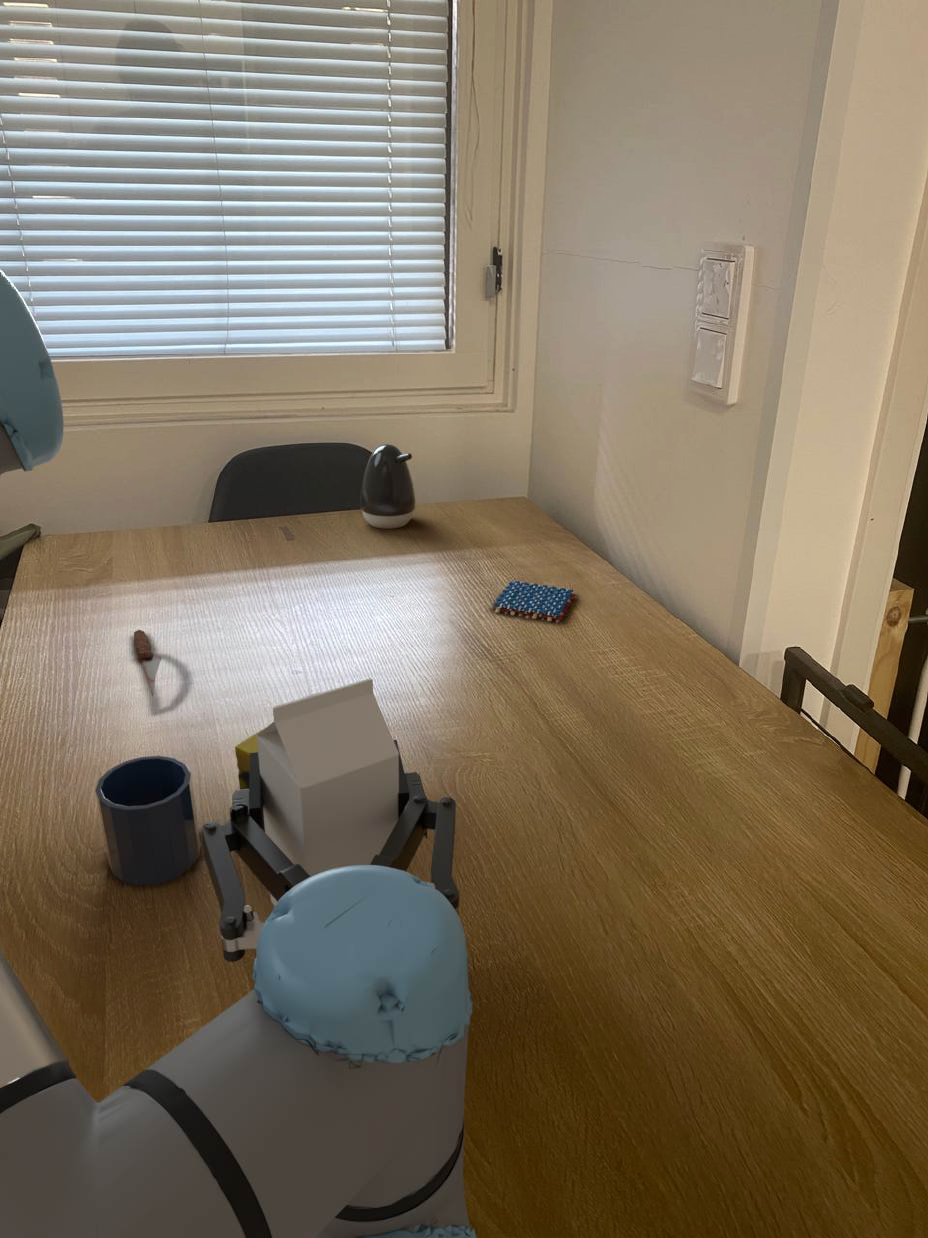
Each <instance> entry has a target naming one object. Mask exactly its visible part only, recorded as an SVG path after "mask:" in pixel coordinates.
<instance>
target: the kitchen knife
mask: <svg viewBox="0 0 928 1238" xmlns="http://www.w3.org/2000/svg"><path fill="white" fill-rule="evenodd" d="M133 636H134V639H133V643H134V644H133V645H134V650H135V655H136V656H137V661H138V662H139V663H140V664H142V666H143V670H144V675H145V677H146V680H147V684H148V686H149V687H148V688H149V690H150V693H151V696H152V697H153V696H154V691H155V686H156V677H157V672H158V670H159V667H160V664H161V662H162V656H159V655H156V654H154V653H153V652H152V646H151V643H150V641H149V637H148V636H147V634H146V632H145V631H143V630H141V629H137V630H135V631H134V633H133Z"/></svg>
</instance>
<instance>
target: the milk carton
mask: <svg viewBox="0 0 928 1238" xmlns="http://www.w3.org/2000/svg"><path fill="white" fill-rule="evenodd" d="M272 714H273V722H272V723H270V724H269V725H267V726H266V727H265V728H263V729H264V730H263V729H262V730H263V731H261V730H260V731H261V732H260V733H259V734H257V745H258V757H259V768H260V775H261V786H262V797H263V814H264V825H265V833H266V834H267V835H268V836H269V838H270V839H271V840H272V841H273V842H274V843H275V844H276V845H277V846H278V847H279V849H280V850H281V851H282V852H283V853H284V854H285V855H286V856H287V857H288V858H289V860H290V861H291V862H292V863H293V864H294V865H295V864H299V865H300V866H301V867H302V868H303V869H304V870H305V871H306V872H307V873H308V874H309V875H310V877H312V876H314V875H316V874H319V873H321V872H324V871H327V870H331V869H335V868H339V867H345V866H354V865H370V863H371V862H372V860H373V858H374V856H375V855H376V854H377V855H379V854H380V852H381V850H382V848H383V847H384V845H385V843H386V841H387V839H388V838H389V836H390V834H391V832H392V830H393V829H394V827H395V825H396V823H397V821H398V793H399V752H400V751H399V752H398V750H397V748H396V745H395V743H394V741H393V740H394V738H393V736H392V733H391V731H390V729H389V727H388V724H387V722H386V720H385V717H384V714H383V712H382V710H381V708H380V705H379V704H378V701H377V698H376V696H375V694H374V680H373V678H372V677H369V678H366V679H363V680H359V681H356V682H352V683H349V684H345V685H343V686H339V687H336V688H332V689H329V690H325V691H323V692H316V693H313V694H309V695H307V696H303V697H300V698H298V699H295V700H292V701H288V702H285V703H282V704H278V705H275V706H273V707H272ZM269 894H270V902H271V903H272V904H273V906H274V907H275V906H276V904H277V903H278V902H277V901H276V899H275V898H274V897H273V896H272V895H271V893H270V892H269Z"/></svg>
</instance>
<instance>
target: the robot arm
mask: <svg viewBox="0 0 928 1238" xmlns="http://www.w3.org/2000/svg"><path fill="white" fill-rule="evenodd" d="M57 379H58V378H57V377H56V373H55V369H54V366H53V362H52V359H51V356H50V353H49V350H48V348H47V346H46V343H45V340H44V338H43V335H42V333H41V331H40V328H39V326H38V323H37V322H36V320H35V318H34V315H33V314H32V312H31V310H30V309H29V307H28V305H27V303H26V302H25V300H24V298H23V296H22V294H21V293H20V292H19V290H18V288H16V286H15V285H14V283H13V282H12V281H11V279H10V278H9V277H8V276H7V275H6V273H4V271H2V270H1V269H0V476H2V475H3V474H4V473H7V472H13V471H17V470H23V471H24V472H25V473H26V472H31V471H33V470H34V468H35V467H37V466H40V465H43V464H48V463H49V462H50V461H52V460H54V459H55V457H56V456H57V455H58V453H59V451H60V450H61V447H62V444H63V437H64V412H63V411H64V410H63V403H62V397H61V393H60V387H59V384H58V380H57ZM393 741H394V743H395V745H396V748H397V750H398V752H399V793H398V821H397V823H396V825H395V827H394V829H393V830H392V832H391V834H390V836H389V838H388V839H387V841H386V843H385V845H384V847H383V848H382V850H381V852H380V854H379V855H377V854H376V855H375V856H374V858H373V860H372V862H371V863H370V865H354V866H345V867H339V868H335V869H331V870H327V871H324V872H321V873H319V874H316V875H314V876H312V877H310V875H309V874H308V873H307V872H306V871H305V870H304V869H303V868H302V867H301V866H300V865H299V864H295V865H294V864H293V863H292V862H291V861H290V860H289V858H288V857H287V856H286V855H285V854H284V853H283V852H282V851H281V850H280V849H279V847H278V846H277V845H276V844H275V843H274V842H273V841H272V840H271V839H270V838H269V836H268V835H267V834H266V833H265V832H264V831H263V797H262V786H261V775H260V768H259V757H258V752H255V753H250V770H249V789H242V790H240V789H235V790H234V792H233V794H232V799H231V800H232V801H231V804H232V805H231V806H230V808H229V816H230V818H229V820H228V821H227V822H225V823H222V824H220V822H218V821H208V822H206V823H204V824H203V825H202V827H201V835H202V836H201V837H202V843H203V852H204V853H203V854H204V860H205V864H206V866H207V870H208V873H209V875H210V879H211V883H212V886H213V889H214V893H215V895H216V900H217V902H218V905H219V909H220V913H221V914H220V917H219V930H220V940H221V948H222V956H223V958H224V960H225V961H226V962H228V963H229V962H231V963H234V962H238V961H240V960H242V959H243V958H244V957H245V954H246V950H256V957H255V960H254V962H253V967H252V970H253V972H252V974H251V977H252V980H253V982H254V986H253V989H252V990H250V991H249V992H248V993H247V994H245V995H244V996H243V997H241V998H240V999H239V1000H237V1001H236V1002H235V1003H233V1004H232V1005H231V1006H229V1007H228V1008H227V1009H225V1010H224V1011H223V1012H221V1013H220V1014H219V1015H217V1016H216V1017H214V1018H213V1019H212V1020H210V1021H209V1022H207V1023H206V1024H205V1025H203V1026H202V1027H201V1028H199V1029H198V1030H196V1032H194V1033H193V1034H191V1035H190V1036H189V1037H187V1038H186V1039H184V1041H182V1042H181V1043H179V1044H178V1045H176V1046H175V1047H174V1048H172V1049H171V1050H170V1051H169V1052H167V1053H166V1054H164V1055H163V1056H162V1057H161V1058H159V1059H157V1060H156V1061H155V1062H153V1063H152V1064H151V1065H150V1066H148V1067H147V1068H145V1069H144V1070H142V1071H141V1072H139V1073H138V1074H136V1075H135V1076H133V1077H132V1078H131V1079H129V1080H128V1081H127V1082H125V1083H124V1084H122V1085H121V1086H120V1087H118V1088H117V1089H116V1090H114V1091H113V1092H111V1093H110V1094H108V1095H107V1096H106V1097H105V1098H103V1099H101V1100H100V1101H99V1102H97V1101H96V1100H95V1099H94V1098H93V1097H92V1096H91V1095H90V1093H89V1092H88V1090H87V1089H86V1088H85V1086H84V1085H83V1084H82V1083H81V1081H80V1080H79V1078H78V1077H77V1076H76V1074H75V1072H74V1071H73V1069H72V1067H71V1066H70V1059H69V1058H68V1056H67V1055H66V1053H65V1052H64V1049H62V1047H61V1045H60V1044H59V1042H58V1040H57V1039H56V1037H55V1035H54V1034H53V1032H52V1030H50V1027H49V1026H48V1024H47V1022H46V1021H45V1019H44V1018H43V1016H42V1014H41V1013H40V1012H39V1010H38V1007H37V1006H36V1004H35V1003H34V1002H33V1000H32V998H31V996H30V995H29V994H28V992H27V990H26V988H25V986H24V985H23V984H22V982H21V981H20V978H19V977H18V975H17V974H16V972H15V970H14V969H13V968H12V966H11V964H10V963H9V960H8V959H7V958H6V956H5V954H4V953H3V952H2V950H1V949H0V1238H477V1235H476V1231H475V1229H473V1228H472V1227H471V1224H470V1218H469V1214H468V1209H467V1202H466V1196H465V1195H466V1194H465V1187H464V1156H465V1155H464V1153H465V1130H466V1129H465V1126H466V1125H465V1115H464V1114H465V1095H466V1094H465V1093H466V1092H465V1091H466V1076H467V1058H468V1046H469V1045H468V1043H469V1026H470V1022H471V1021H470V1020H471V1016H472V1014H473V1004H474V1002H473V996H472V993H471V991H470V987H469V986H470V985H469V982H470V981H469V954H468V951H467V949H468V948H467V939H466V933H465V930H464V926H463V924H462V921H461V920H462V919H460V892H459V889H458V887H457V885H456V883H455V881H454V878H453V864H454V851H455V837H456V816H457V815H456V814H457V813H456V812H457V811H456V809H457V803H456V800H455V799H454V798H452V797H449V796H446V797H441V798H439V799H438V801H434V800H430V799H428V796H426V793H425V788H424V785H423V781H422V778H421V775H420V774H419V773H418V772H417V771H412V772H405V768H404V765H403V761H402V757H401V752H400V748H399V745H398V740H397V739H393ZM428 830H433V831H434V837H433V839H434V840H433V846H432V857H431V866H430V882H427V881H423V880H421V879H420V878H419V877H418V876H416V875H414V874H412V873H410V872H408V869H409V867H410V865H411V863H412V861H413V859H414V857H415V855H416V853H417V851H418V849H419V847H420V845H421V843H422V841H423V839H424V837H425V839H428ZM232 852H235V854H237V855H238V857H239V858H240V860H242V862H243V863H244V864H245V866H246V867H248V869H249V870H250V871H251V872H252V874H253V875H254V876H255V877H256V878H257V880H259V882H260V883H261V884H262V885H263V887H264V888H265V889H266V890H267V892H268V893H269V894H270V893H271V894H270V896H271V895H272V896H273V897H274V898H275V899H276V901H277V902H278V903H277V904H276V906H274V907H273V908H272V910H271V913H270V914H269V915H268V917H267V919H266V920H265V922H263V921H262V920H261V919H260V915H259V913H258V912H256V911H254V907H253V906H252V905H249V904H248V905H246V896H245V892H244V889H243V886H242V883H241V880H240V877H239V874H238V871H237V868H236V865H235V863H234V860H233V856H232V854H231V853H232Z"/></svg>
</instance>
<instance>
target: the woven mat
mask: <svg viewBox="0 0 928 1238" xmlns="http://www.w3.org/2000/svg"><path fill="white" fill-rule="evenodd" d="M572 592H573V593H572ZM575 597H576V593H574V589H572V588H571V589H569V588H565V587H556V586H555V585H553V586H551V585H547V584H544V585H541V584H538V583H536V582H535V583H532V582H530V583H529V582H527V581H525V582H523V581H520V580H514V581H509V582H508V585H505V589H503V590H502V593H500V594H499V597H497V598H496V601H494V602H493V603H492V604H493V606H494V607H493V608H492V611H493V612H495V614H500V613H504V614H505V615H507V614H508V613H510V616H513V617H514V616H515V615H516V614H518V617H522V616H524V615H525V617H524V618H525V619H529V618H531V619H532V620H537V619H541V620H542V621H543V620H545V619H547V621H546V622H553V620H555V623H559V622H560V621H562V620H563V618H566V613H567V612H568V609H569V607H570V606H571V605H572V604H573V603H572V602H573V601H574V599H575Z"/></svg>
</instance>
